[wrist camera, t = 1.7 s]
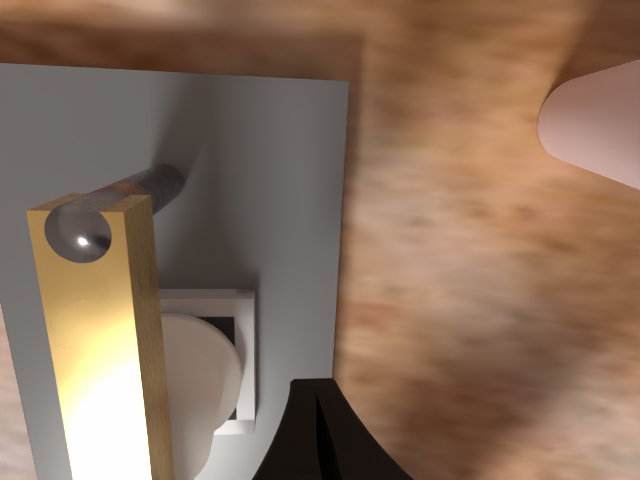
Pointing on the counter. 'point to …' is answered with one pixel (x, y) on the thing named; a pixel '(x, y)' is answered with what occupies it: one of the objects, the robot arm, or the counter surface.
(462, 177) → the counter surface
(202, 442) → the plug
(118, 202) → the tan l-shaped bar
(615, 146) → the smoothie
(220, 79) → the socket block
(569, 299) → the counter surface
